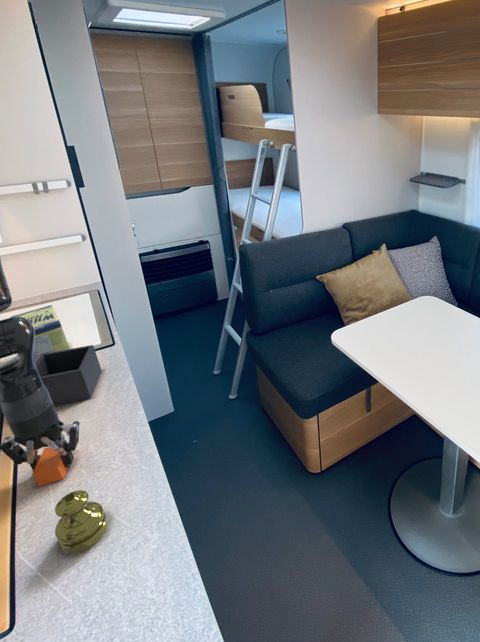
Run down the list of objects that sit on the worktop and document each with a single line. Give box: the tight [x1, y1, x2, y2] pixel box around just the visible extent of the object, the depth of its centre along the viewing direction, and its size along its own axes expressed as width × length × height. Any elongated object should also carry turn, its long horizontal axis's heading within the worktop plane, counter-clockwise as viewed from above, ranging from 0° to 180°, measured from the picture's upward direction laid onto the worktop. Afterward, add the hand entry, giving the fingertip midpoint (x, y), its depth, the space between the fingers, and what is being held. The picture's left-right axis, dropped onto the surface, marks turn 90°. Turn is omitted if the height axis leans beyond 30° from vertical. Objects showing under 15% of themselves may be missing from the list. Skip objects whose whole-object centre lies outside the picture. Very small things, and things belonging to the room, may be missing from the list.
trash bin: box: [36, 344, 103, 407], centre depth 113 cm, size 13×13×10 cm
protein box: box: [10, 304, 71, 362], centre depth 125 cm, size 10×16×16 cm
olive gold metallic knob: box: [54, 489, 109, 555], centre depth 75 cm, size 7×7×10 cm
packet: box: [32, 447, 69, 487], centre depth 90 cm, size 7×4×4 cm, turn 20°
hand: (55, 467), depth 90 cm, fingers closed on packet, 4 cm apart
